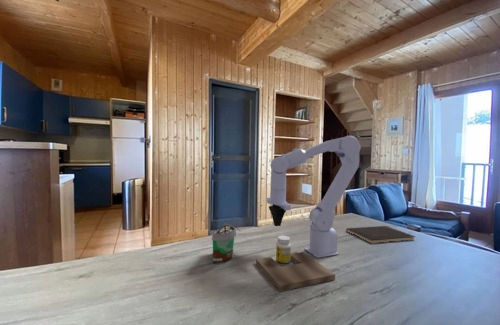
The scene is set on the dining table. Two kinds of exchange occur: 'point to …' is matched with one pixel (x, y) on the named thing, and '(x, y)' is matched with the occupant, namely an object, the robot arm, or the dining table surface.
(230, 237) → the food container
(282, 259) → the supplement bottle
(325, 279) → the notched board
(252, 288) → the dining table surface
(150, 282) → the dining table surface
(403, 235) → the dark brown flat board
